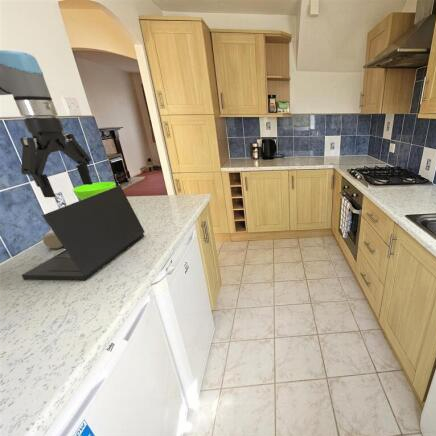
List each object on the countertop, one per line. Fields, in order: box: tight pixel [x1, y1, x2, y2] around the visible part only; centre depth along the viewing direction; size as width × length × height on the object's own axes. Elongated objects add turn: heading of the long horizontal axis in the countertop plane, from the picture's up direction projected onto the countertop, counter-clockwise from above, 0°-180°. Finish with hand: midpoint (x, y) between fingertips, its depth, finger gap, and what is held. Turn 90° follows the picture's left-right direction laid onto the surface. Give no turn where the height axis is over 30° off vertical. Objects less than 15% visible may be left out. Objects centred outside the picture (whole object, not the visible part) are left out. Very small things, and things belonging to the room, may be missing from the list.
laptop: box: [21, 233, 145, 282], centre depth 90 cm, size 21×30×2 cm
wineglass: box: [72, 181, 117, 200], centre depth 115 cm, size 16×16×18 cm
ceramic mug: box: [42, 228, 64, 250], centre depth 97 cm, size 11×8×8 cm
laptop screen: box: [41, 185, 146, 276], centre depth 85 cm, size 21×30×1 cm
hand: (70, 190), depth 77 cm, fingers open, 13 cm apart
